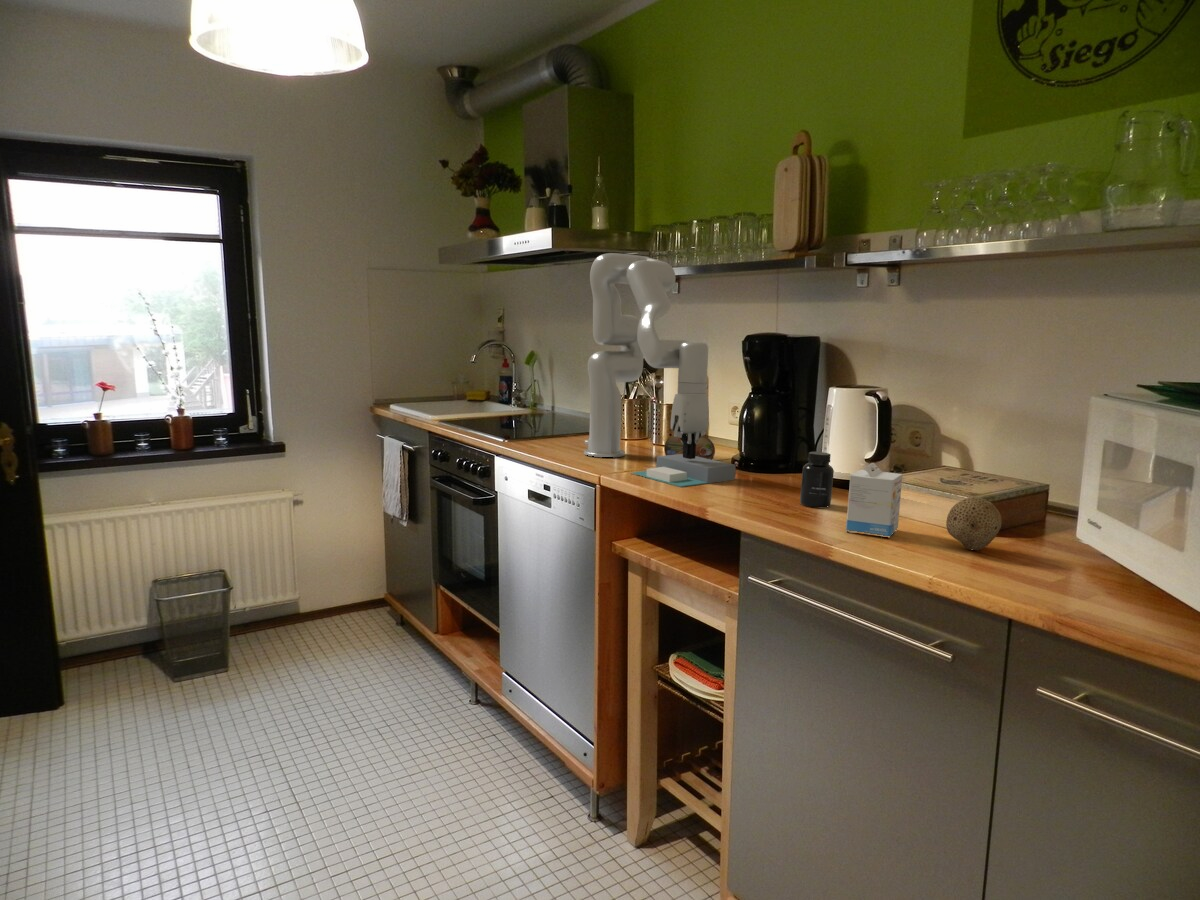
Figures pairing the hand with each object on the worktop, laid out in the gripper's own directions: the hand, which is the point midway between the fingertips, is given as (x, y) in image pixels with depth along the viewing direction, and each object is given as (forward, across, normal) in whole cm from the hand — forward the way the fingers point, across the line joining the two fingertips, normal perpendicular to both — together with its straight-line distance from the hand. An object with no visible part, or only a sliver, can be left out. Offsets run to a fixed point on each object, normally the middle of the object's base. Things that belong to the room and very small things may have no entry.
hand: (688, 457), depth 206 cm
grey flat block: (+5, -2, 0) cm, 5 cm away
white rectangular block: (+3, +8, 0) cm, 9 cm away
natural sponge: (+5, +3, +79) cm, 79 cm away
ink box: (+5, +7, +61) cm, 62 cm away
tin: (+5, -13, -14) cm, 20 cm away
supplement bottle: (+5, -2, +40) cm, 40 cm away
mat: (+5, +7, 0) cm, 9 cm away
